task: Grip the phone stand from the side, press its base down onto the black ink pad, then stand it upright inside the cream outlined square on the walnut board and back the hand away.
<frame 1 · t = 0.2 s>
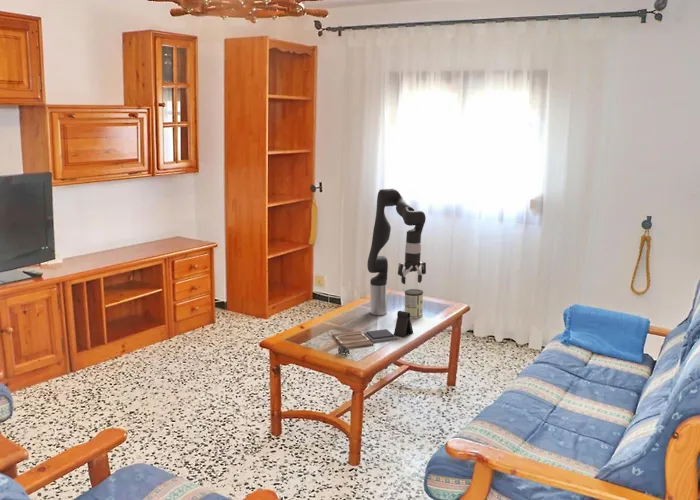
hand: (411, 283, 302), 29 cm above the table, tool pointing down, fingers open, 8 cm apart
phone stand: (403, 334, 314), on the table
coffee can: (413, 315, 344), on the table
marked board: (352, 340, 305), on the table
car cutout: (351, 357, 285), on the table
ink pad: (380, 337, 310), on the table
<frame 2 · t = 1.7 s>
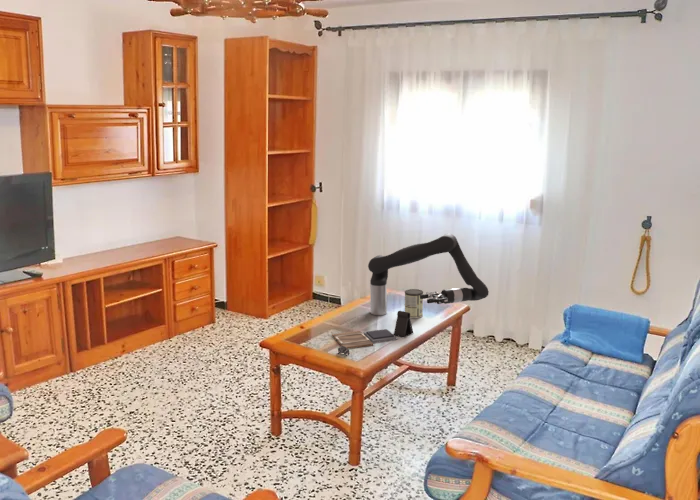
hand: (423, 299, 313), 18 cm above the table, tool horizontal, fingers open, 8 cm apart
nothing on the table moved.
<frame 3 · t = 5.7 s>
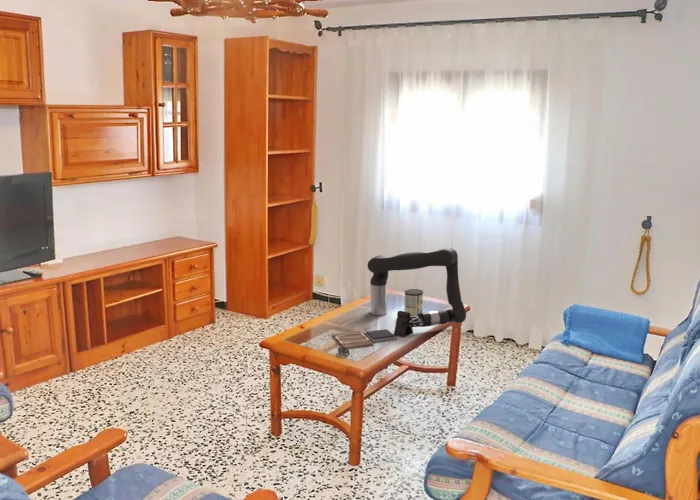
hand: (399, 322, 311), 7 cm above the table, tool horizontal, fingers closed on phone stand, 5 cm apart
phone stand: (403, 334, 314), on the table, touching gripper
everything else where it was.
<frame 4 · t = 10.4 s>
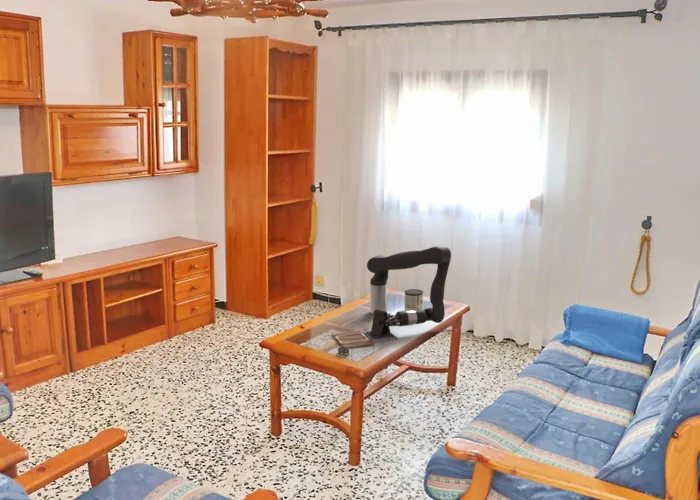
hand: (375, 321, 307), 9 cm above the table, tool horizontal, fingers closed on phone stand, 6 cm apart
phone stand: (380, 333, 309), point 2 cm above the table, touching gripper, ink pad
everything else where it was.
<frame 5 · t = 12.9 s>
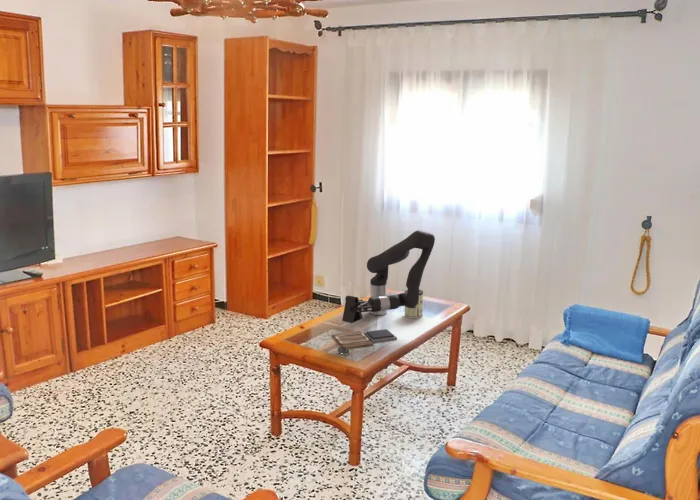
hand: (347, 307, 301), 17 cm above the table, tool horizontal, fingers closed on phone stand, 5 cm apart
phone stand: (352, 320, 303), point 11 cm above the table, touching gripper
everything else where it was.
when the fingers open (8 cm above the table, at t = 15.1 s): phone stand stays where it is, resting on marked board.
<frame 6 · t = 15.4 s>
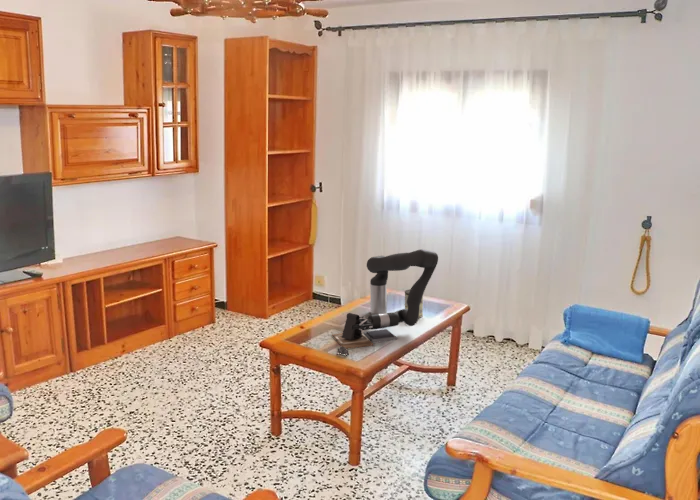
hand: (348, 324, 302), 9 cm above the table, tool horizontal, fingers open, 8 cm apart
phone stand: (352, 337, 305), point 1 cm above the table, touching gripper, marked board
everything else where it was.
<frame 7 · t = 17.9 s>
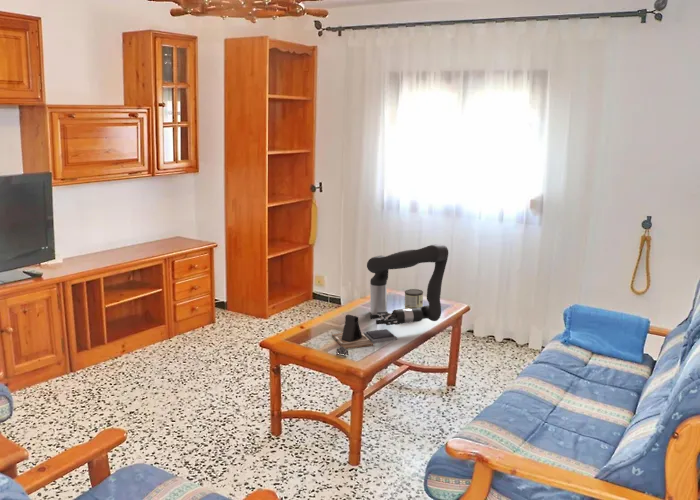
hand: (373, 319, 307), 10 cm above the table, tool horizontal, fingers open, 8 cm apart
phone stand: (351, 339, 305), point 1 cm above the table, touching marked board
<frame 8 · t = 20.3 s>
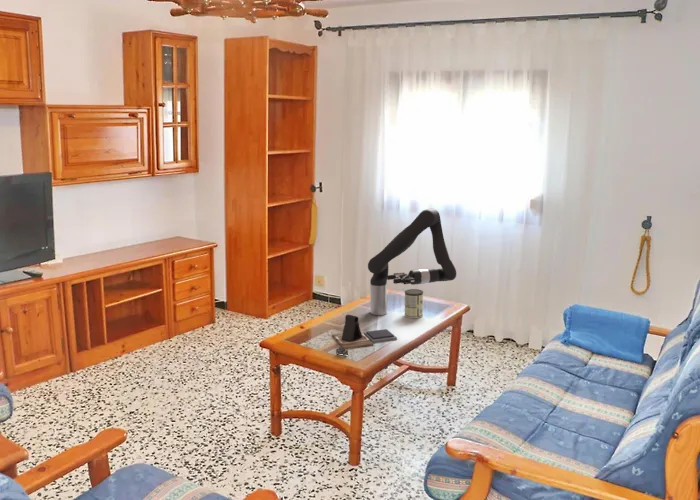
hand: (390, 279, 312), 28 cm above the table, tool horizontal, fingers open, 8 cm apart
at the end: phone stand inside the target area on the marked board (0.1 cm from its centre), point 0.8 cm above the marked board's base; phone stand tilted 0°; the gripper is holding nothing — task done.
